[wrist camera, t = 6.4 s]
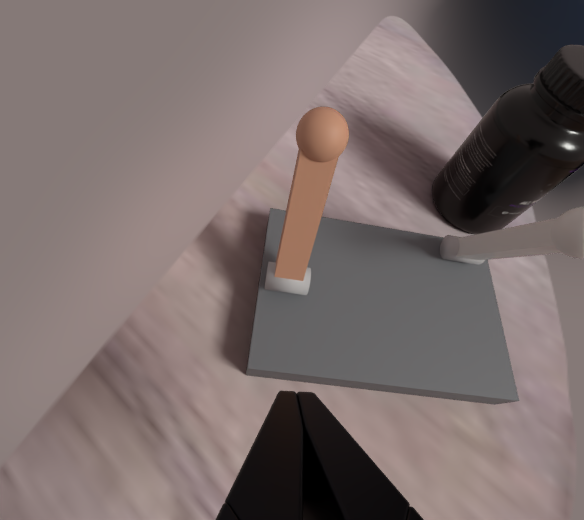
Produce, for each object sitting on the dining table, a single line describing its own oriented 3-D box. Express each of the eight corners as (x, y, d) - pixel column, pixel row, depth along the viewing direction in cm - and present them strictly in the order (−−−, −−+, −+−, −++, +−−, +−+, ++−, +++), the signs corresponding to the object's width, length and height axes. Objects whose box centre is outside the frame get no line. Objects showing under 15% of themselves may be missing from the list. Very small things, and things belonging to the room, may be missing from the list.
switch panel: (495, 404, 21) (519, 400, 19) (245, 374, 20) (247, 368, 18) (466, 257, 26) (483, 244, 25) (267, 224, 25) (270, 208, 23)
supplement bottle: (498, 251, 27) (668, 131, 17) (420, 213, 28) (536, 74, 17) (509, 194, 30) (655, 64, 20) (438, 161, 31) (545, 18, 21)
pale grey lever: (470, 269, 23) (635, 261, 13) (437, 264, 23) (580, 251, 13) (473, 238, 24) (639, 206, 14) (441, 232, 23) (585, 196, 13)
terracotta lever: (305, 305, 19) (361, 123, 13) (263, 299, 19) (299, 110, 13) (304, 278, 21) (354, 106, 15) (266, 272, 21) (299, 95, 14)
